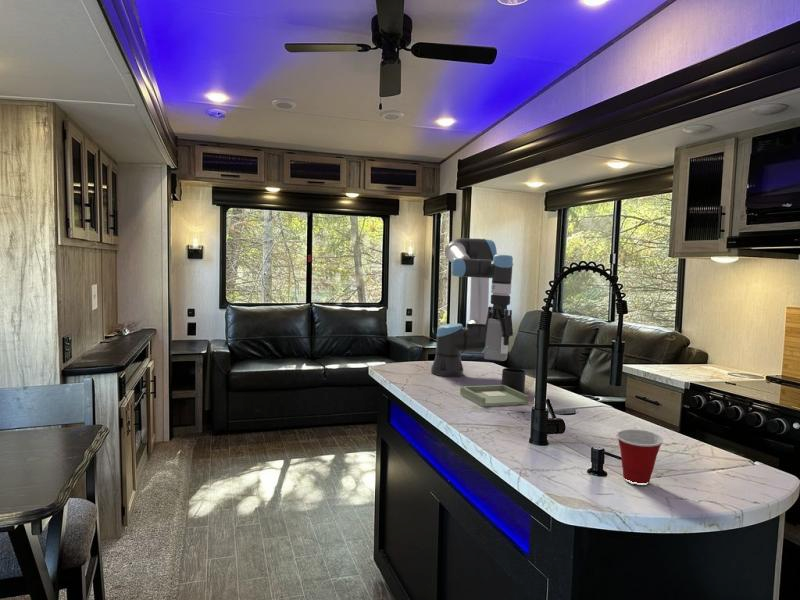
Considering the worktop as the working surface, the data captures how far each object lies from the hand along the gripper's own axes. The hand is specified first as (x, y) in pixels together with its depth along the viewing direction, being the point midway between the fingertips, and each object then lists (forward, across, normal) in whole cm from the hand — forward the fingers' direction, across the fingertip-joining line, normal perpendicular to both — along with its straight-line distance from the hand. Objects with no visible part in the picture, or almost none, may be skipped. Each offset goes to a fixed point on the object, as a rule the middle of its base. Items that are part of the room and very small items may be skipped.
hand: (497, 350), depth 211 cm
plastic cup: (+19, +81, -7) cm, 83 cm away
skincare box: (+3, 0, 0) cm, 3 cm away
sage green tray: (+18, +3, -2) cm, 19 cm away
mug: (+19, -8, +13) cm, 24 cm away
